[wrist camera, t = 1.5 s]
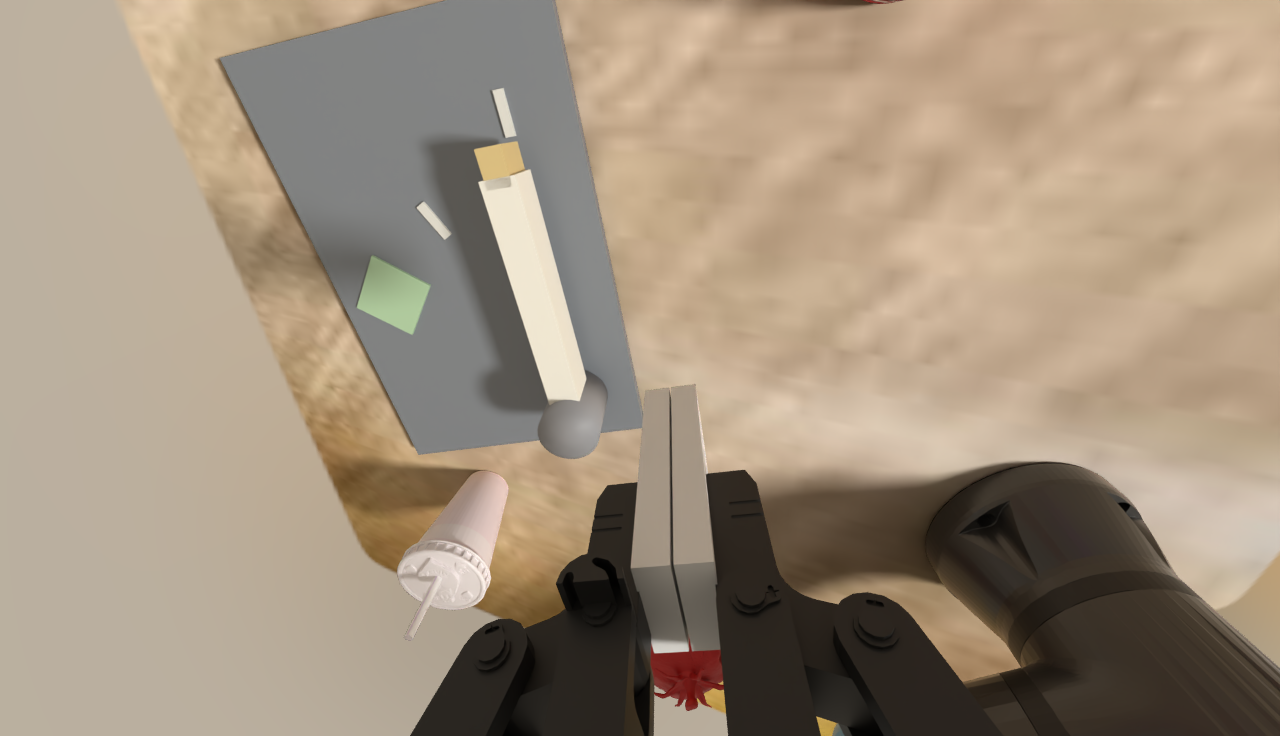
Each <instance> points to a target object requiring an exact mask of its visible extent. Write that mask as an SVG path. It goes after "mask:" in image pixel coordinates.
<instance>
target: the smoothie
mask: <svg viewBox="0 0 1280 736" xmlns="http://www.w3.org/2000/svg"><path fill="white" fill-rule="evenodd" d="M507 495H508V485H507V483H506V481H505V480H504V479H503V478H502V477H501V476H499V475H498V474H496V473H494V472H490V471H477V472H475V473H473V474H471V475H470V476H469V478H468V479H467V480H466V481H465V483H464V484H463V485H462V487H461V488H460V489H459V490H458V492H457V493H456V494H455V496H454V497H453V498H452V499H451V501H450V502H449V503H448V505H447V506H446V507H445V508H444V510H443V511H442V512H441V514H440V515H439V516H438V517H437V519H436V520H435V521H434V523H433V524H432V525H431V526H430V528H429V529H428V530H427V531H426V533H425V534H424V535H423V537H422V538H421V539H420V541H419V542H418V543H416V544H414V545H412V546H411V547H410V548H409V549H407V550H406V552H405V554H404V556H403V557H402V560H401V562H400V563H399V565H398V568H397V576H398V579H399V582H400V583H401V585H402V587H403V588H404V589H405V590H406V591H407V593H408V594H410V595H411V596H412V597H414V598H415V599H416V600H418V601H420V602H421V604H420V606H419V608H418V610H417V612H416V614H415V616H414V618H413V620H412V622H411V624H410V626H409V628H408V630H407V632H406V634H405V636H404V638H405V639H406V640H409V641H411V640H413V638H414V636H415V634H416V632H417V630H418V628H419V626H420V624H421V622H422V620H423V617H424V615H425V613H426V611H427V609H428V607H429V606H432V607H435V608H440V609H445V610H459V609H465V608H469V607H471V606H474V605H475V604H477V603H478V602H480V601H481V600H482V598H483V597H484V595H485V592H486V590H487V588H488V587H489V584H490V580H491V576H490V570H489V567H490V564H491V560H492V555H493V551H494V547H495V543H496V539H497V535H498V531H499V527H500V523H501V519H502V515H503V511H504V507H505V503H506V499H507Z"/></svg>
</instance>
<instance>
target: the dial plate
mask: <svg viewBox="0 0 1280 736" xmlns="http://www.w3.org/2000/svg"><path fill="white" fill-rule="evenodd" d="M220 60H221V62H222V64H223V66H224V68H225V70H226V72H227V74H228V76H229V78H230V80H231V82H232V84H233V86H234V88H235V90H236V92H237V94H238V96H239V98H240V100H241V102H242V104H243V106H244V108H245V110H246V112H247V114H248V116H249V118H250V120H251V122H252V124H253V126H254V128H255V130H256V132H257V134H258V136H259V138H260V140H261V142H262V144H263V146H264V148H265V150H266V152H267V154H268V156H269V158H270V160H271V162H272V164H273V166H274V168H275V170H276V172H277V174H278V176H279V178H280V180H281V182H282V184H283V186H284V188H285V190H286V192H287V194H288V196H289V198H290V200H291V202H292V204H293V206H294V208H295V210H296V212H297V214H298V216H299V218H300V220H301V222H302V224H303V226H304V228H305V230H306V231H307V233H308V235H309V237H310V239H311V241H312V243H313V245H314V247H315V249H316V251H317V253H318V255H319V257H320V259H321V261H322V263H323V265H324V267H325V269H326V271H327V273H328V275H329V277H330V279H331V281H332V283H333V285H334V287H335V289H336V291H337V293H338V295H339V297H340V299H341V301H342V303H343V305H344V307H345V309H346V311H347V313H348V315H349V317H350V319H351V321H352V323H353V325H354V327H355V329H356V331H357V333H358V335H359V337H360V339H361V341H362V343H363V345H364V347H365V349H366V351H367V353H368V355H369V357H370V359H371V361H372V363H373V365H374V367H375V369H376V371H377V373H378V375H379V377H380V379H381V381H382V383H383V385H384V387H385V389H386V391H387V393H388V395H389V397H390V399H391V401H392V403H393V405H394V407H395V409H396V411H397V413H398V415H399V417H400V419H401V421H402V423H403V425H404V427H405V429H406V431H407V433H408V435H409V437H410V439H411V441H412V443H413V445H414V447H415V449H416V451H417V453H418V455H420V454H428V453H437V452H445V451H454V450H462V449H470V448H479V447H487V446H495V445H504V444H512V443H521V442H529V441H537V440H539V437H538V432H537V430H538V424H539V422H540V420H541V417H542V415H543V412H544V410H545V408H546V405H547V403H548V399H547V395H546V392H545V389H544V386H543V383H542V380H541V377H540V374H539V370H538V367H537V364H536V361H535V358H534V355H533V352H532V349H531V345H530V342H529V339H528V336H527V333H526V330H525V327H524V324H523V320H522V317H521V314H520V311H519V308H518V305H517V302H516V299H515V295H514V292H513V289H512V286H511V283H510V280H509V277H508V274H507V270H506V267H505V264H504V261H503V258H502V255H501V252H500V249H499V245H498V242H497V239H496V236H495V233H494V230H493V227H492V224H491V220H490V217H489V214H488V211H487V208H486V205H485V202H484V199H483V195H482V192H481V189H480V186H479V183H478V182H480V181H483V177H482V174H481V171H480V168H479V165H478V161H477V158H476V155H475V152H474V149H478V148H483V147H488V146H492V145H497V144H503V143H509V142H515V141H517V142H518V146H519V149H520V153H521V157H522V160H523V164H524V167H525V170H528V169H530V170H531V174H532V177H533V181H534V185H535V189H536V192H537V196H538V200H539V204H540V207H541V211H542V215H543V218H544V222H545V226H546V230H547V233H548V237H549V241H550V244H551V248H552V252H553V256H554V259H555V263H556V267H557V271H558V274H559V278H560V282H561V285H562V289H563V293H564V297H565V300H566V304H567V308H568V311H569V315H570V319H571V323H572V326H573V330H574V334H575V338H576V341H577V345H578V349H579V352H580V356H581V360H582V364H583V367H584V371H587V372H590V373H593V374H595V375H596V376H598V377H599V378H600V379H601V380H602V381H603V383H604V384H605V386H606V388H607V392H608V399H607V404H606V409H605V414H604V418H603V423H602V428H601V432H600V433H604V432H613V431H621V430H629V429H638V428H642V423H643V411H642V406H641V401H640V397H639V392H638V387H637V382H636V378H635V373H634V368H633V364H632V359H631V354H630V350H629V345H628V340H627V336H626V331H625V326H624V321H623V317H622V312H621V307H620V303H619V298H618V293H617V289H616V284H615V279H614V275H613V270H612V265H611V260H610V256H609V251H608V246H607V242H606V237H605V232H604V228H603V223H602V218H601V214H600V209H599V204H598V199H597V195H596V190H595V185H594V181H593V176H592V171H591V167H590V162H589V157H588V153H587V148H586V143H585V138H584V134H583V129H582V124H581V120H580V115H579V110H578V106H577V101H576V96H575V92H574V87H573V82H572V77H571V73H570V68H569V63H568V59H567V54H566V49H565V45H564V40H563V35H562V30H561V26H560V21H559V16H558V12H557V7H556V2H555V0H446V1H442V2H438V3H434V4H430V5H426V6H422V7H418V8H414V9H410V10H406V11H403V12H399V13H395V14H391V15H387V16H383V17H379V18H375V19H371V20H367V21H363V22H359V23H355V24H351V25H348V26H344V27H340V28H336V29H332V30H328V31H324V32H320V33H316V34H312V35H308V36H304V37H300V38H296V39H293V40H289V41H285V42H281V43H277V44H273V45H269V46H265V47H261V48H257V49H253V50H249V51H245V52H241V53H237V54H234V55H230V56H226V57H222V58H220Z"/></svg>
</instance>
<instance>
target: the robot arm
mask: <svg viewBox="0 0 1280 736" xmlns="http://www.w3.org/2000/svg"><path fill="white" fill-rule="evenodd" d="M594 518H595V519H594V521H593V526H592V533H591V537H590V543H589V548H588V553H587V554H585V555H581V556H580V557H578V558H576V559H575V560H573V561H571V562H570V563H569V564H568V565H567V566H566V567H565V568H564V569H563V570H562V572H561V573H560V575H559V578H558V580H557V582H556V585H557V588H558V590H559V593H560V595H561V598H562V601H563V603H564V606H565V608H566V609H565V610H563V611H562V612H561V613H559V614H558V615H556V616H554V617H552V618H550V619H548V620H545V621H542V622H540V623H537V624H535V625H532V626H530V627H527V628H525V629H524V628H523V626H522V625H521V623H519V622H517V621H514V620H512V619H498V620H495V621H493V622H490V623H488V624H486V625H484V626H483V627H482V628H480V629H479V630H478V631H476V632H475V633H474V634H473V635H472V636H471V638H470V639H469V640H468V641H467V643H466V644H465V645H464V647H463V648H462V650H461V652H460V654H459V655H458V657H457V658H456V660H455V662H454V663H453V665H452V667H451V668H450V670H449V672H448V674H447V675H446V677H445V678H444V680H443V682H442V683H441V685H440V687H439V688H438V690H437V692H436V693H435V695H434V697H433V698H432V700H431V702H430V704H429V705H428V707H427V708H426V710H425V712H424V714H423V715H422V717H421V719H420V720H419V722H418V724H417V725H416V727H415V729H414V730H413V732H412V734H411V735H410V736H653V735H654V733H653V732H654V677H653V671H652V668H651V664H650V663H651V643H652V647H653V650H654V653H671V652H689V639H690V643H691V648H692V651H706V650H720V651H721V662H722V673H723V684H724V694H725V705H726V716H727V727H728V736H821V734H820V730H819V726H818V722H817V718H816V716H817V717H820V718H824V719H827V720H830V721H833V722H836V723H837V724H836V726H835V728H834V731H833V735H832V736H1280V668H1279V667H1278V666H1277V665H1276V664H1275V663H1273V662H1272V661H1271V660H1270V659H1269V658H1268V657H1267V656H1266V655H1264V654H1263V653H1262V652H1261V651H1260V650H1259V649H1258V648H1257V647H1256V646H1255V645H1253V644H1252V643H1251V642H1250V641H1249V640H1248V639H1247V638H1246V637H1244V636H1243V635H1242V634H1241V633H1240V632H1239V631H1238V630H1237V629H1235V628H1234V627H1233V626H1232V625H1231V624H1230V623H1229V622H1227V621H1226V620H1225V619H1224V618H1223V617H1222V616H1221V615H1220V614H1219V613H1217V612H1216V611H1215V610H1214V609H1213V608H1212V607H1211V606H1210V605H1208V604H1207V603H1206V602H1205V601H1204V600H1203V599H1202V598H1200V597H1199V596H1198V595H1197V594H1196V593H1195V592H1194V591H1193V590H1192V589H1190V588H1189V587H1188V586H1187V585H1186V584H1185V583H1184V582H1183V581H1182V580H1181V579H1180V578H1179V577H1178V576H1177V575H1176V574H1175V572H1174V570H1173V569H1172V567H1171V565H1170V564H1169V562H1168V560H1167V559H1166V557H1165V555H1164V554H1163V552H1162V550H1161V549H1160V547H1159V545H1158V544H1157V542H1156V540H1155V539H1154V537H1153V535H1152V534H1151V532H1150V530H1149V529H1148V527H1147V526H1146V524H1145V523H1144V521H1143V520H1142V517H1141V515H1140V514H1139V512H1138V511H1137V509H1136V507H1135V506H1134V505H1133V504H1132V502H1131V501H1130V500H1129V499H1128V498H1127V497H1126V496H1125V495H1123V494H1122V493H1121V492H1120V491H1119V490H1117V489H1116V488H1115V487H1114V486H1113V485H1111V484H1110V483H1109V482H1108V481H1107V480H1105V479H1104V478H1103V477H1101V476H1100V475H1098V474H1096V473H1094V472H1092V471H1090V470H1087V469H1085V468H1081V467H1077V466H1073V465H1067V464H1035V465H1027V466H1022V467H1017V468H1013V469H1009V470H1006V471H1003V472H1000V473H997V474H994V475H991V476H989V477H987V478H984V479H982V480H980V481H978V482H976V483H975V484H973V485H971V486H969V487H968V488H966V489H964V490H963V491H962V492H960V493H959V494H957V495H956V496H955V497H954V498H952V499H951V500H950V501H949V502H948V503H947V504H946V505H945V506H944V507H943V508H942V509H941V510H940V511H939V513H938V514H937V515H936V517H935V518H934V520H933V521H932V523H931V525H930V528H929V530H928V533H927V537H926V554H927V557H928V560H929V562H930V563H931V565H932V567H933V569H934V570H935V572H936V574H937V575H938V577H939V579H940V580H941V582H942V583H943V585H944V586H945V587H946V588H947V590H948V591H949V592H950V593H951V594H953V595H954V596H955V597H956V598H957V599H959V600H960V601H961V602H962V603H963V604H964V605H965V606H966V607H967V608H968V609H969V610H970V611H971V612H972V613H973V614H974V615H976V616H977V617H978V618H979V619H980V620H981V621H982V622H983V623H984V624H985V625H986V626H988V627H989V628H990V629H991V630H992V631H993V632H994V633H995V634H996V635H997V636H999V637H1000V638H1001V639H1002V640H1003V641H1004V642H1005V643H1006V645H1007V646H1008V647H1009V649H1010V650H1011V652H1012V654H1013V655H1014V657H1015V658H1016V660H1017V661H1018V663H1019V665H1020V666H1021V668H1018V669H1014V670H1010V671H1007V672H1003V673H997V674H993V675H989V676H985V677H981V678H977V679H973V680H969V681H965V682H962V681H961V680H960V679H959V677H958V676H957V675H956V673H955V672H954V671H953V670H952V668H951V667H950V666H949V664H948V663H947V662H946V660H945V659H944V658H943V657H942V655H941V654H940V653H939V651H938V650H937V649H936V647H935V646H934V645H933V644H932V642H931V641H930V640H929V638H928V637H927V636H926V634H925V633H924V632H923V631H922V629H921V628H920V627H919V625H918V624H917V623H916V621H915V620H914V619H913V618H912V616H911V615H910V614H909V613H908V612H907V611H906V610H905V609H903V608H902V607H901V606H900V605H899V604H898V603H896V602H894V601H892V600H890V599H888V598H887V597H885V596H882V595H877V594H873V593H868V592H866V593H856V594H852V595H850V596H848V597H846V598H844V599H843V600H841V602H840V603H839V605H838V604H833V603H829V602H825V601H820V600H816V599H813V598H810V597H807V596H804V595H802V594H800V593H799V592H797V591H795V590H794V589H792V588H791V587H790V586H789V585H788V584H787V583H786V582H785V581H784V580H783V578H782V577H781V575H780V574H779V571H778V569H777V566H776V562H775V558H774V554H773V550H772V546H771V542H770V538H769V533H768V529H767V525H766V521H765V517H764V513H763V509H762V505H761V501H760V496H759V492H758V488H757V484H756V482H755V481H754V480H753V479H752V478H751V476H750V475H749V474H748V473H747V472H746V471H745V470H738V471H729V472H719V473H710V474H708V470H707V462H706V453H705V446H704V439H703V432H702V426H701V419H700V412H699V405H698V398H697V391H696V385H695V384H693V385H685V386H677V387H671V396H670V390H669V388H662V389H654V390H647V391H645V398H644V411H643V423H642V435H641V447H640V459H639V472H638V482H636V483H626V484H617V485H607V487H606V488H605V490H604V491H603V493H602V494H601V496H600V497H599V498H598V500H597V504H596V510H595V515H594ZM688 634H689V636H688Z"/></svg>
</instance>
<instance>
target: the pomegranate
mask: <svg viewBox="0 0 1280 736" xmlns="http://www.w3.org/2000/svg"><path fill="white" fill-rule="evenodd" d="M688 636H689V634H688ZM650 664H651V668H652V671H653V677H654V685H655V686H657V687H658V688H659V689H662V690H664V691H665V692H666V693H665V694H661V693H655V692H654V694H655V695H656V696H658V697H660V698H666V697H669V696H671V697H673V698H676V699H679V700H678V704H677V705H675V706H680V705H681V704H682V702H683V700H684V699H687V700H686V703H685V707H686V710H687V711H690V710H693V709H696V708H697V707H698V702H697V698H698V699H699V700H700V702H701V703H702V704H703V705H705V706H709V707H711V706H710V705H708V704H707V703H706V700H705V696H704V693H705V692H707V691H709V690H711V689H712V688H715V689H718V690H723V689H724V685H720V684H718V683H720V682H722V681H723V673H722V662H721V651H720V650H706V651H692V648H691V643H690V639H689V652H671V653H654V650H653V647H652V643H651V663H650Z"/></svg>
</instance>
